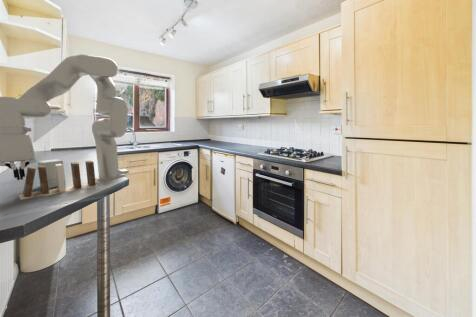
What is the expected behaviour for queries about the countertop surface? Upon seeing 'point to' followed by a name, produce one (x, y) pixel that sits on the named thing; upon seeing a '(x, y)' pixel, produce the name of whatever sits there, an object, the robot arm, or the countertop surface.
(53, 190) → the board
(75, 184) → the domino
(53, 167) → the supplement box
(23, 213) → the countertop surface
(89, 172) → the domino
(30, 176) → the domino end
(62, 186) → the domino
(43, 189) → the domino
